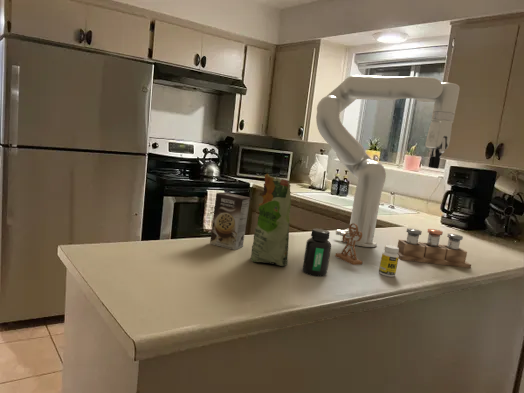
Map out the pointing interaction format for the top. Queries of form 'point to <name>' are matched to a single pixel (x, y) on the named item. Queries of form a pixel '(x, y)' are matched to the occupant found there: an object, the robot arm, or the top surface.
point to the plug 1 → (413, 236)
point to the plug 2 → (454, 241)
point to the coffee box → (229, 220)
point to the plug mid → (433, 237)
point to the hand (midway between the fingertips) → (433, 167)
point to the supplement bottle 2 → (389, 261)
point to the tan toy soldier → (343, 254)
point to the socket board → (432, 254)
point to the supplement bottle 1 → (317, 253)
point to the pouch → (273, 223)
